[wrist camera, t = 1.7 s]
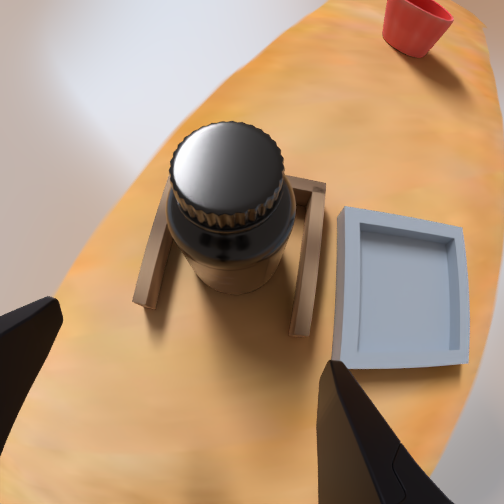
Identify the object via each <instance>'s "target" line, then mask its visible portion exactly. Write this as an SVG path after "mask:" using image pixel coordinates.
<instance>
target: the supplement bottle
mask: <svg viewBox="0 0 504 504" xmlns="http://www.w3.org/2000/svg"><path fill="white" fill-rule="evenodd" d="M283 163H284V158H283V157H282V155H281V150H280V148H279V147H277V144H276V142H275V141H274V140H272V139H271V137H270V135H268V134H266V133H264V132H263V131H262V130H261V129H259V128H255V127H254V126H253V125H248V124H245V123H243V122H234V121H230V122H223V121H222V122H219V123H211V124H209V125H208V126H202V127H201V128H199V129H198V130H195V131H193V132H192V133H191V134H190V135H188V136H186V137H185V138H184V140H183V141H182V142H181V143H180V144H178V148H177V149H176V150H175V151H174V153H173V158H172V159H171V161H170V165H171V167H170V169H169V174H170V184H171V187H170V190H169V192H168V196H167V200H166V220H167V224H168V228H169V230H170V233H171V235H172V237H173V239H174V241H175V243H176V244H177V246H178V247H179V249H180V250H181V252H182V253H183V255H184V256H185V258H186V259H187V261H188V262H189V264H190V265H191V267H192V268H193V270H194V271H195V273H196V274H197V275H198V277H199V278H200V279H201V280H202V281H203V282H204V283H205V284H206V285H208V286H209V287H211V288H212V289H214V290H216V291H219V292H222V293H226V294H235V295H236V294H245V293H248V292H251V291H254V290H256V289H258V288H260V287H261V286H262V285H264V284H265V283H266V282H267V281H268V280H269V279H270V278H271V277H272V275H273V274H274V272H275V271H276V269H277V267H278V264H279V262H280V260H281V257H282V254H283V252H284V249H285V247H286V244H287V241H288V239H289V236H290V234H291V231H292V228H293V225H294V220H295V215H296V200H295V195H294V191H293V188H292V186H291V184H290V182H289V180H288V178H287V177H286V175H285V174H284V171H285V168H284V165H283Z"/></svg>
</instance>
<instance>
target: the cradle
mask: <svg viewBox="0 0 504 504" xmlns="http://www.w3.org/2000/svg"><path fill="white" fill-rule="evenodd" d="M286 177H287V178H288V180H289V182H290V184H291V186H292V188H293V191H294V195H295V200H296V204H297V205H302V206H306V213H305V221H304V230H303V238H302V246H301V253H300V261H299V268H298V276H297V283H296V290H295V297H294V303H293V310H292V316H291V323H290V329H289V335H288V336H294V337H301V338H302V337H308V336H309V334H310V327H311V320H312V313H313V306H314V299H315V291H316V283H317V275H318V266H319V257H320V248H321V238H322V228H323V216H324V204H325V191H326V183H323V182H318V181H313V180H308V179H303V178H298V177H293V176H287V175H286ZM170 187H171V184H170V174H169V177H168V180H167V183H166V186H165V189H164V192H163V195H162V198H161V201H160V204H159V207H158V210H157V213H156V216H155V220H154V223H153V226H152V229H151V233H150V236H149V240H148V243H147V246H146V250H145V254H144V257H143V261H142V265H141V268H140V272H139V276H138V280H137V284H136V288H135V292H134V296H133V300H132V302H134V303H136V304H138V305H141V306H143V307H146V308H150V309H154V310H155V309H156V305H157V300H158V296H159V292H160V287H161V283H162V279H163V275H164V271H165V267H166V263H167V259H168V255H169V251H170V248H171V244H172V240H173V237H172V235H171V233H170V230H169V228H168V224H167V220H166V200H167V196H168V192H169V190H170Z"/></svg>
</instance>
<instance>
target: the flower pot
mask: <svg viewBox="0 0 504 504" xmlns="http://www.w3.org/2000/svg"><path fill="white" fill-rule="evenodd" d="M453 21H454V19H453V16H452V15H451V14H450V13H449V12H448V11H447V10H446V9H445V8H443V7H442V6H441V5H440V4H438V3H437V2H435V1H434V0H387V5H386V11H385V17H384V25H383V32H382V35H383V38H384V39H385V40H386V41H387V42H388V43H389V44H390V45H391V46H392V47H394V48H395V49H398V50H399V51H400V52H402V53H404V54H406V55H409V56H412V57H416V58H421V57H424V56H425V55H426V54H427V52H428V51H429V50H430V49H431V48H432V47H433V46H434V44H435V43H436V42H437V41H438V40H439V39H440V37H441V36H442V35H443V34H444V33H445V32H446V30H447V29H448V28H449V27H450V25H451V24H452V23H453Z"/></svg>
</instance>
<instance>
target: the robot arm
mask: <svg viewBox="0 0 504 504" xmlns="http://www.w3.org/2000/svg"><path fill="white" fill-rule="evenodd" d="M62 323H63V315H62V312H61V308H60V304H59V301H58V300H57V299H56V298H53V297H50V296H47V297H44V298H42V299H40V300H37V301H35V302H32V303H30V304H28V305H25V306H23V307H21V308H18V309H16V310H14V311H11V312H9V313H7V314H4V315H2V316H0V456H1V453H2V451H3V448H4V445H5V443H6V440H7V438H8V436H9V433H10V431H11V429H12V426H13V424H14V422H15V420H16V417H17V415H18V413H19V411H20V409H21V407H22V405H23V403H24V401H25V398H26V396H27V394H28V392H29V390H30V388H31V387H32V385H33V383H34V381H35V379H36V377H37V375H38V373H39V371H40V369H41V368H42V366H43V364H44V362H45V360H46V358H47V356H48V354H49V352H50V350H51V347H52V345H53V343H54V341H55V338H56V336H57V334H58V332H59V330H60V328H61V325H62ZM316 430H317V456H318V504H454V503H453V502H452V501H451V500H449V499H448V498H447V496H446V495H445V494H444V493H443V492H442V491H441V490H440V489H439V488H438V487H437V486H436V485H435V483H433V481H432V480H431V479H430V478H429V477H428V476H427V475H426V473H425V472H424V471H423V470H422V469H421V468H420V466H419V465H418V464H417V463H416V462H415V460H414V459H413V458H412V456H411V455H410V454H409V452H408V451H407V450H406V448H405V447H404V445H403V444H402V443H400V440H399V439H398V437H397V436H396V434H395V433H394V432H393V430H392V429H391V428H390V426H389V425H388V423H387V422H386V421H385V419H384V418H383V416H382V415H381V414H380V412H379V411H378V410H377V408H376V407H375V405H374V404H373V403H372V401H371V400H370V398H369V397H368V396H367V394H366V393H365V392H364V390H363V389H362V387H361V386H360V385H359V383H358V382H357V381H356V379H355V378H354V376H353V375H352V374H351V372H350V371H349V370H348V368H347V367H346V365H345V364H344V363H343V362H342V361H338V360H329V361H328V362H327V364H326V366H325V369H324V371H323V373H322V375H321V377H320V381H319V395H318V410H317V424H316Z"/></svg>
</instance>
